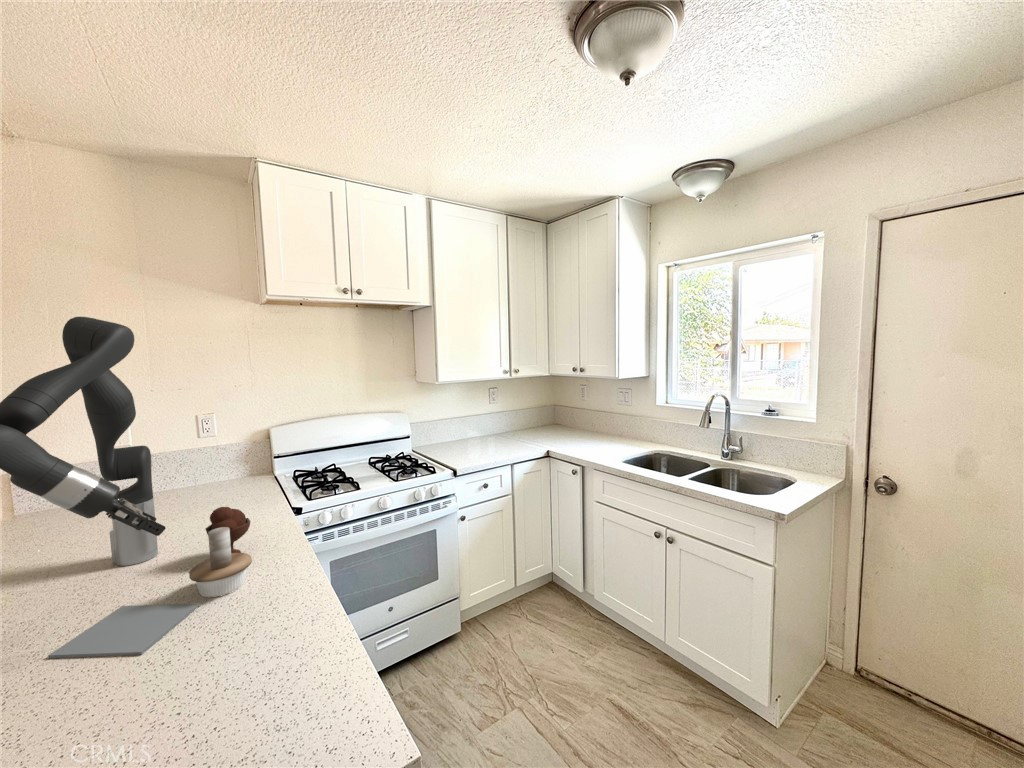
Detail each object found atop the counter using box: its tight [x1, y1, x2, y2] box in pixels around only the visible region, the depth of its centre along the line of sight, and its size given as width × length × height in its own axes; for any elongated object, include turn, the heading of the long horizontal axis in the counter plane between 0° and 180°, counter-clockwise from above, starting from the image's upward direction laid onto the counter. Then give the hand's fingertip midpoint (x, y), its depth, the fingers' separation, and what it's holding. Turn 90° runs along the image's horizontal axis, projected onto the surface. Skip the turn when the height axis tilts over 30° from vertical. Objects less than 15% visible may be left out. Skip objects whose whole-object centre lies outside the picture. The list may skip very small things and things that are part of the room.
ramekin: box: [195, 567, 248, 598], centre depth 106 cm, size 11×11×5 cm
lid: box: [188, 527, 253, 583], centre depth 105 cm, size 13×13×10 cm
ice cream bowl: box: [204, 506, 251, 553], centre depth 122 cm, size 11×11×15 cm
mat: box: [47, 602, 201, 659], centre depth 90 cm, size 18×16×1 cm
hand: (157, 527), depth 95 cm, fingers open, 8 cm apart
